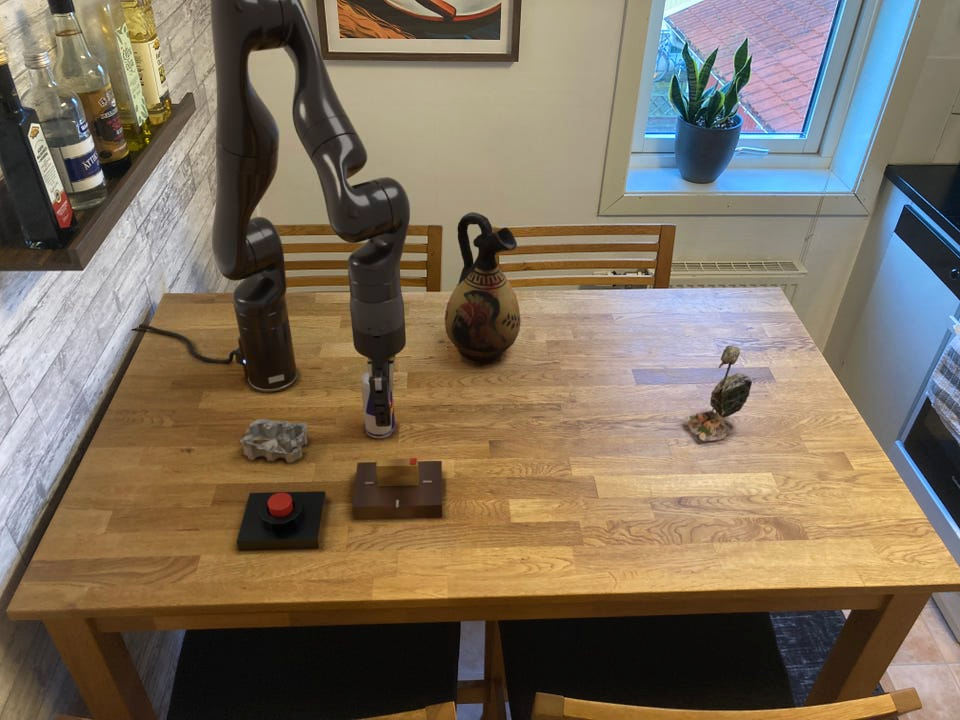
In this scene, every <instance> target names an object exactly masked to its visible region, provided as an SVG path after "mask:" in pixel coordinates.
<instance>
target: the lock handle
mask: <svg viewBox="0 0 960 720" xmlns="http://www.w3.org/2000/svg"><path fill="white" fill-rule="evenodd" d="M418 461H419V458H417V457H410V458H382V459H381V458H377V459H376V462H377V464H376V468H377V480H378V486H418V485H419V472H418Z"/></svg>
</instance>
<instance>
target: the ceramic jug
mask: <svg viewBox="0 0 960 720" xmlns="http://www.w3.org/2000/svg"><path fill="white" fill-rule="evenodd" d="M470 225H477V226H478V227H479V229H480V234H478V235H477V236H476V237H475V238H474V239H473V242H472V244H473V246H474V247H475V248H478V253H477V257H476V259H474V255H473V251H472V249H471V242H470V237H469V233H468V229H469V226H470ZM456 230H457V241H458V245H459V250H460V254H461V258H462V262H463V268H462V269H461V273H460V276H459V279H458V283H457V284H456V286H455V288H454V289H453V290H452V292H451V294H450V296H449V299H448V301H447V303H446V308H445V313H444V328H445V333H446V336H447V337H448V339H449V341H450V342H451V344H453V346H454V347H455V348H456V349H457V353H458V354H459V356H460V358H461V359H462V360H463V361H466V362H467V363H469V364H470V365H473V366H475V367H484V366H490V365H494V364H497V363H500V362H501V361H502V358H503V356H504V353H505V352H506V351H507V350H508V349H509V348H511V347H512V346H513V345H514V344H515V342H516V340H517V338H518V336H519V332H520V330H521V322H522V321H521V311H520V306H519V301H518V298H517V295H516V292H515V291H514V288H513V287H512V285H511V283H510V281H509V280H508V278H507V276H506V275H505V274H504V272H503V271H502V269H501V268H500V267H499V265H498V263H497V261H496V260H497V259H496V255H497V254H499V253H503V252H512V251H515V250H516V249H517V247H518V243H517V240H516V237H515V236H514V234H513V232H512V231H511V230H510V229H509V228H508V227H502V228H500V229H499V230H495V231H494V232H493V226H492V224H491V222H490V220H489V218H488V217H486V216H485V215H483V214H481V213H478V212H473V211H471V212H467V214H464V215H462V217H461V218H460V219H459V222H458V224H457V229H456Z"/></svg>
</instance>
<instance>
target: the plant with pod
mask: <svg viewBox="0 0 960 720" xmlns="http://www.w3.org/2000/svg"><path fill="white" fill-rule="evenodd" d="M740 349H741V348H739V347H737V346H734V345H727V346H726V347H725V349H724V350H723V351H722V354H721V357H720V361H721V363H720V364H719V366H718V369H721V368H722V367H723V366H725V365H727V367H726V372H725V376H724V377H723V378H722V379H721V380H720V381H719V382H717V384H716V385H715V387H714V388H713V390H711V395H710V401H709V404H710V407H712V409H711V410H708V411H703V412H701V411H700V412H696V413H695V414H694V415H691V416H689V418H687V419H685V421H683V426H685V427H686V428H689V429H688V430H690V432H692V433H691V434H692V435H693V436H694V437H695V439H696V441H698V442H704V443H706V442H713V441H718V440H719V441H722V440H725V439H726V438H727V437H728V435H729V434H730V433H731V432H732V430H733V429H734V428H735V427H734V426H733V425H731V424H728V423H727V422H726V421H725V420H724V419H726V418H727V417H730V416H732V415H734V414H736V413H738V412H740V411H741V410H742V408H743V407H744V405H745V404H746V403H747V400H748V397H749V396H750V392H751V388H752V384H753V381H754V380H755V377H753V378H752V379H751V378H750V376H748V375H746V374H744V373H739V372H737V373H733V374H729V373H730V371H731V367H732V365H735V364H736V363H737V361H738V359H739V357H740V354H741V350H740ZM714 411H715V412H714Z"/></svg>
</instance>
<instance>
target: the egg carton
mask: <svg viewBox="0 0 960 720" xmlns="http://www.w3.org/2000/svg"><path fill="white" fill-rule="evenodd" d="M307 427H308V422H306V421H305V422H297V423H294V422H292V421H291V422H289V421H288V420H283V421H282V420H271V419H269V418H268V419H267V418H258V419H256V420H254V421H252V422H250V425H249V426H248V428H247V430H246V431H245V433H244V437H241V439H240V440H238V444H241V447H242V453H243V455H244V456H246V457H247V458H248V460H250V461H253V460H255V459H257V458H258V457H265V458H266V461H267V462H269V461H270V462H271V461H272V462H274V461H276V460H277V459H279V458H282V459H285V460H286V461H285V462H286V463H291V464H292V463H293V462H295V461H296V460H298V459H299V460H300V459H301V458H302V456H303V451H302V447H303V446H306V445H307V443H308V436H307ZM254 441H265V442H262V443H259V442H258V443H255V442H254ZM293 448H294V449H293Z"/></svg>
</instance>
